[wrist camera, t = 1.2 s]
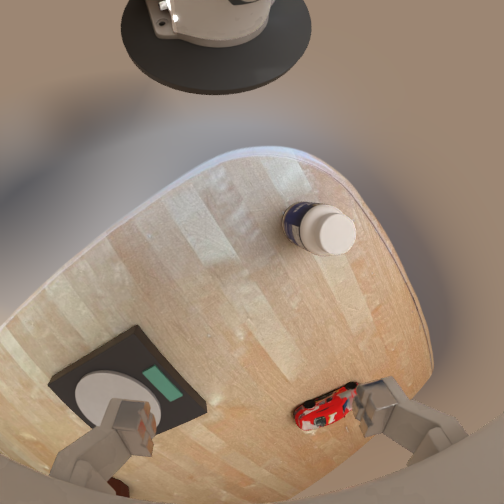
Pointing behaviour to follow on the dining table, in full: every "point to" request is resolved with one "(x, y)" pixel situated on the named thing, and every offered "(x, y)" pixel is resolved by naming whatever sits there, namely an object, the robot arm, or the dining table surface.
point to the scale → (128, 382)
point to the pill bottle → (319, 228)
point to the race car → (326, 408)
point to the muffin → (119, 487)
